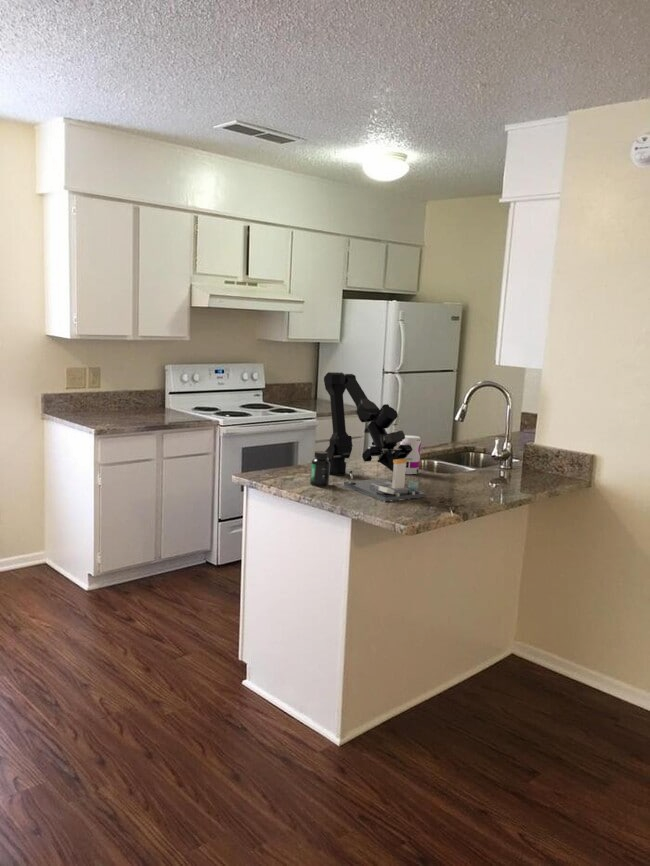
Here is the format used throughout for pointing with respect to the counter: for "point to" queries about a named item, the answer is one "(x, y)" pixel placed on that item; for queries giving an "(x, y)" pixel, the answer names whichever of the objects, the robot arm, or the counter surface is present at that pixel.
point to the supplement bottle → (320, 469)
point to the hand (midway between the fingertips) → (396, 472)
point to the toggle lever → (351, 474)
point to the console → (372, 488)
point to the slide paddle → (399, 476)
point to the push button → (413, 485)
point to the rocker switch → (386, 489)
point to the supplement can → (412, 454)
